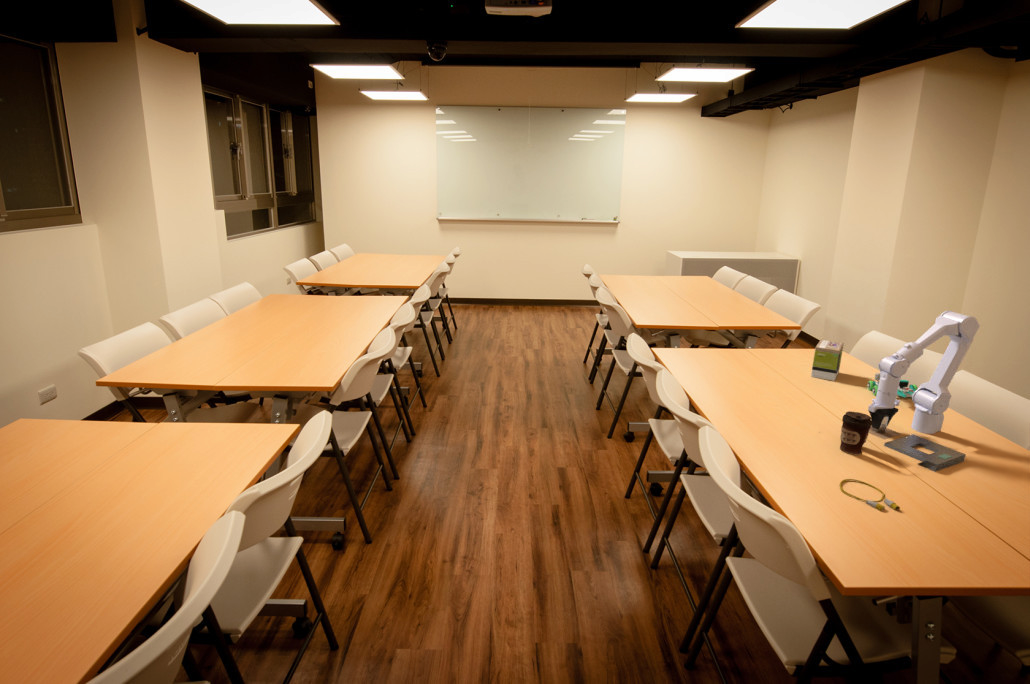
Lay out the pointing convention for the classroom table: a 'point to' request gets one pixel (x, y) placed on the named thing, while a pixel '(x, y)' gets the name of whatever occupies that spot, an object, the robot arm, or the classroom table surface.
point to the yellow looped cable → (872, 503)
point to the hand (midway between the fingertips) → (879, 427)
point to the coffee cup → (854, 432)
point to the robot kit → (902, 389)
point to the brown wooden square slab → (885, 435)
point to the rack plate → (930, 461)
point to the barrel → (882, 425)
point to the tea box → (827, 360)
